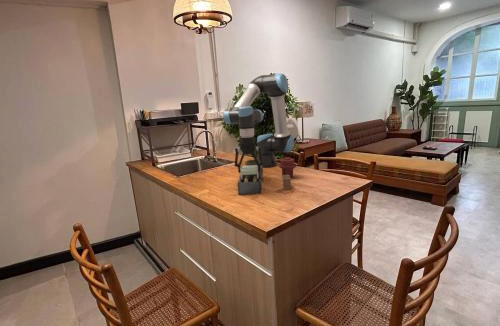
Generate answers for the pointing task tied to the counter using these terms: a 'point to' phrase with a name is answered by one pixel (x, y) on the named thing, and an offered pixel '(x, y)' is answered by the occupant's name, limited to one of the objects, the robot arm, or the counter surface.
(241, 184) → the frame
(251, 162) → the mug
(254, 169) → the board
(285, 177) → the block
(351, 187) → the counter surface
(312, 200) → the counter surface
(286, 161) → the mechanical component
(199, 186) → the counter surface
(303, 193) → the counter surface
